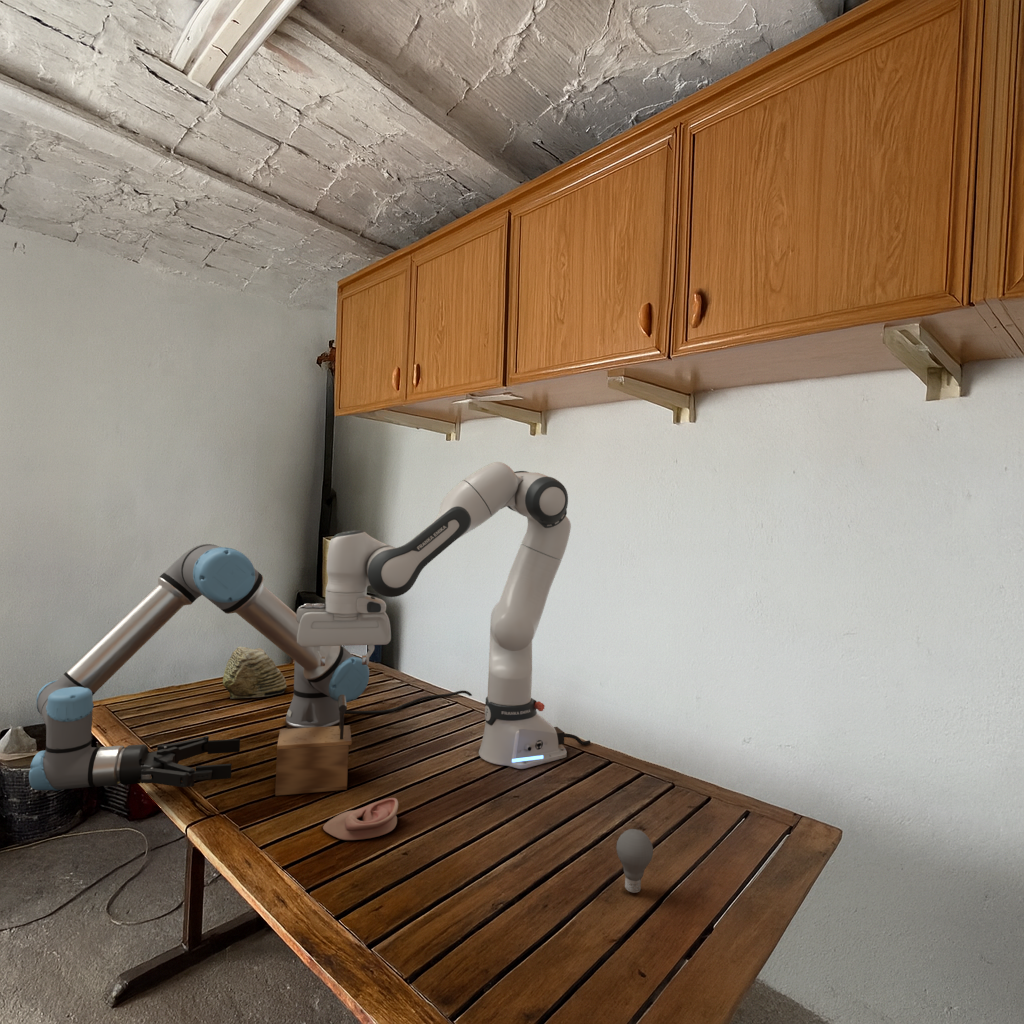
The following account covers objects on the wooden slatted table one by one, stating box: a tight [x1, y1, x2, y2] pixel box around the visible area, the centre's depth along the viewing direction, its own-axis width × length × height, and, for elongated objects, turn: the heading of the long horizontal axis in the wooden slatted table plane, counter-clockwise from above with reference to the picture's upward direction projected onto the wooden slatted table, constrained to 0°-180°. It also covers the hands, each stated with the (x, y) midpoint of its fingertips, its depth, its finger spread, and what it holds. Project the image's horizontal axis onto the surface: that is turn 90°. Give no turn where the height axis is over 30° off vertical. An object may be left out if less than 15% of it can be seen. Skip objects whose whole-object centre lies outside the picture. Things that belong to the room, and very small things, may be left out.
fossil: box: [222, 646, 288, 699], centre depth 198 cm, size 9×18×15 cm, turn 132°
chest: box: [274, 745, 350, 797], centre depth 140 cm, size 15×10×10 cm, turn 107°
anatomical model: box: [322, 797, 399, 841], centre depth 122 cm, size 13×4×12 cm
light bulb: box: [615, 828, 654, 894], centre depth 106 cm, size 6×6×10 cm
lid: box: [276, 694, 352, 750], centre depth 140 cm, size 15×10×8 cm, turn 107°
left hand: (235, 757), depth 135 cm, fingers open, 13 cm apart
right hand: (343, 664), depth 141 cm, fingers open, 8 cm apart
